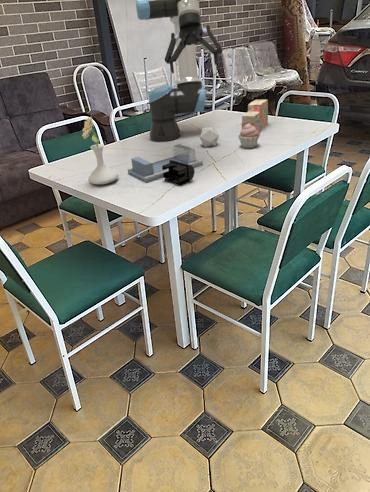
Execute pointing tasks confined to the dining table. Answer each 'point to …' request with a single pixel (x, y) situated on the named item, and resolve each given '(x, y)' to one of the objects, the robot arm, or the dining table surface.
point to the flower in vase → (98, 159)
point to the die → (209, 136)
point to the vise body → (153, 168)
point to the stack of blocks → (256, 114)
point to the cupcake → (249, 136)
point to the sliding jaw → (184, 153)
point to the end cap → (178, 173)
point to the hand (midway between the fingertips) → (195, 78)
